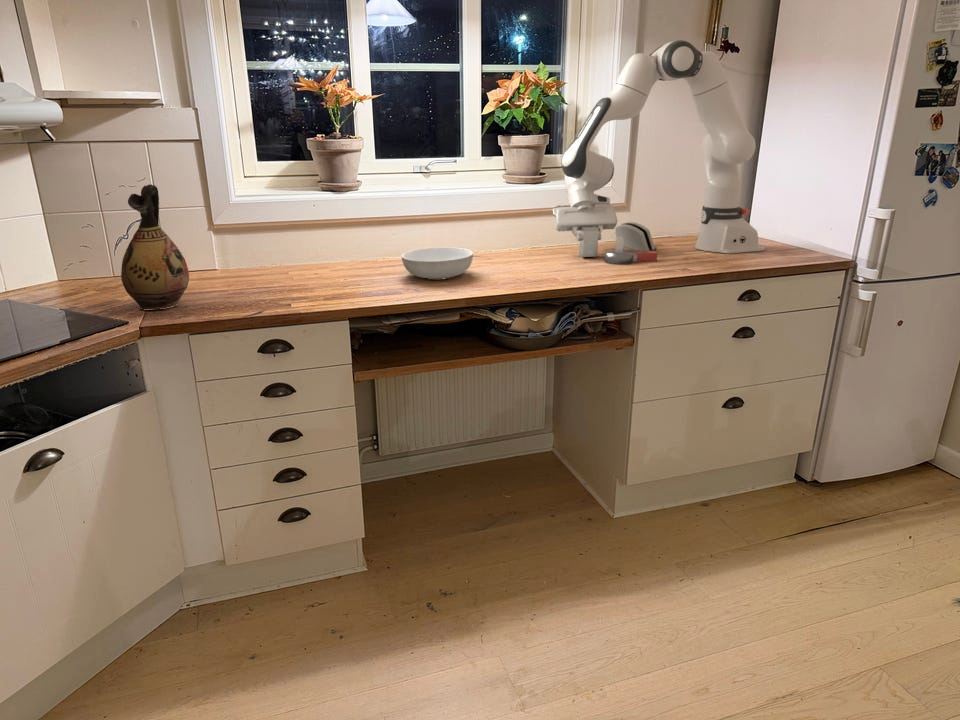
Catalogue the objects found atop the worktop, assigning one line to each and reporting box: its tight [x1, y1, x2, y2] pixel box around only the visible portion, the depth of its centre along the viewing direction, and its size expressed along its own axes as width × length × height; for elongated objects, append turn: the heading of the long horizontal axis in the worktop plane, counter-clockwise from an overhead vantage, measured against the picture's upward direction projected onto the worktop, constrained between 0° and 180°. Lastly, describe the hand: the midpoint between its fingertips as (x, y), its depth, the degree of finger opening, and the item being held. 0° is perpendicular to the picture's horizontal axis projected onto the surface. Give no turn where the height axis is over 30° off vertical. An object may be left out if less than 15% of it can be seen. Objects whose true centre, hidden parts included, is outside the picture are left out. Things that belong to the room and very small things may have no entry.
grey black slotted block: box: [614, 221, 659, 252], centre depth 235 cm, size 17×5×10 cm, turn 25°
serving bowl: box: [401, 246, 474, 280], centre depth 199 cm, size 21×21×7 cm
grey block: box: [578, 226, 599, 258], centre depth 221 cm, size 5×5×9 cm
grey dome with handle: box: [603, 236, 659, 265], centre depth 215 cm, size 16×9×8 cm, turn 97°
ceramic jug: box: [120, 183, 190, 309], centre depth 169 cm, size 17×15×30 cm
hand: (589, 239), depth 220 cm, fingers closed on grey block, 5 cm apart
